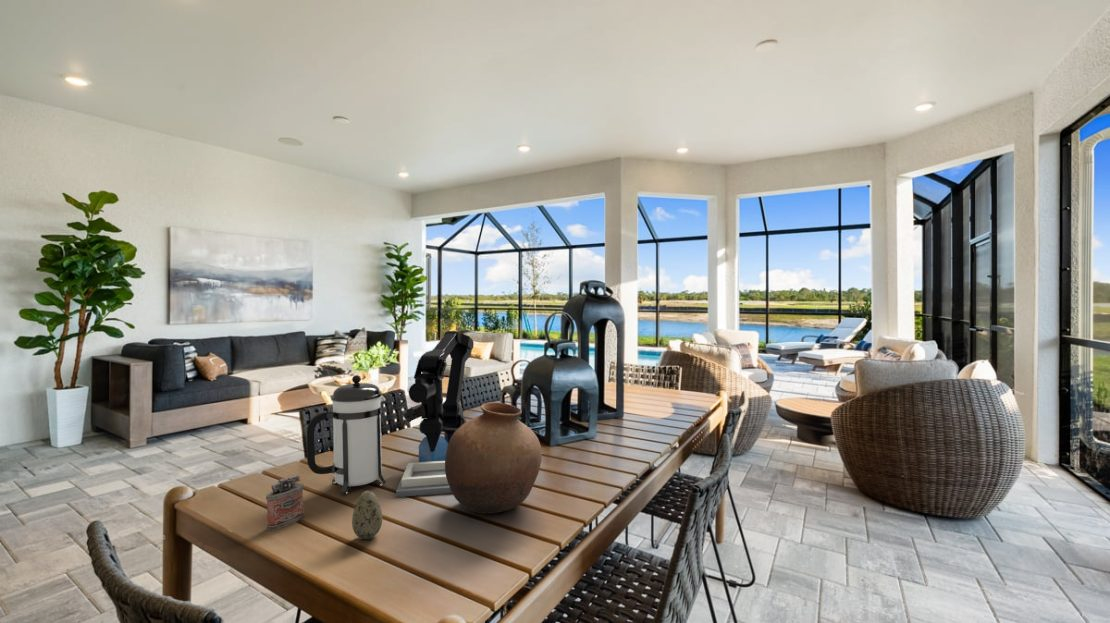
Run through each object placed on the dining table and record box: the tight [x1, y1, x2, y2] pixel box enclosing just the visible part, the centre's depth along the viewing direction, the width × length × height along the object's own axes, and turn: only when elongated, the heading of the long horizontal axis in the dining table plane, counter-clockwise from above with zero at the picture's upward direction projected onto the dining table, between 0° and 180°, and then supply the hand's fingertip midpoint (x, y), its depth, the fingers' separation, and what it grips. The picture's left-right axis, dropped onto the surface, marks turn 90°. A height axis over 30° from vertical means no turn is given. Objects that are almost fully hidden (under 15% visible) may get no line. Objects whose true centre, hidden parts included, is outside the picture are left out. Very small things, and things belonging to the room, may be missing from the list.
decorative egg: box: [351, 490, 383, 540], centre depth 102 cm, size 6×6×10 cm
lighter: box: [265, 474, 305, 531], centre depth 109 cm, size 8×3×10 cm, turn 148°
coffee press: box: [305, 374, 386, 495], centre depth 131 cm, size 17×16×30 cm
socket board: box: [395, 461, 452, 498], centre depth 133 cm, size 18×15×4 cm
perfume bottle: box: [418, 435, 448, 462], centre depth 147 cm, size 6×6×12 cm
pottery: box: [445, 401, 543, 514], centre depth 116 cm, size 23×23×25 cm
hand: (433, 446), depth 147 cm, fingers closed on perfume bottle, 9 cm apart
